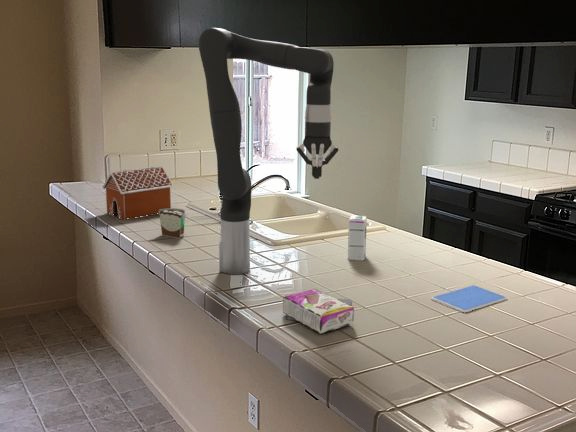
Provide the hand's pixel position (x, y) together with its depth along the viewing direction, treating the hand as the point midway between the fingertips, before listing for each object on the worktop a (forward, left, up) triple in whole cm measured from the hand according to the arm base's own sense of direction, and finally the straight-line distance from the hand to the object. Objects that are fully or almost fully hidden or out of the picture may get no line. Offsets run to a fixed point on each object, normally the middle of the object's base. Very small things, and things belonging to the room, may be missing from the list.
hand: (316, 178), depth 187 cm
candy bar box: (-2, -25, -29) cm, 39 cm away
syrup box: (+12, +25, -32) cm, 42 cm away
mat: (+4, -24, -32) cm, 40 cm away
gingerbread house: (-86, +72, -32) cm, 116 cm away
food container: (-58, +40, -32) cm, 78 cm away
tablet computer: (+46, -8, -33) cm, 57 cm away
